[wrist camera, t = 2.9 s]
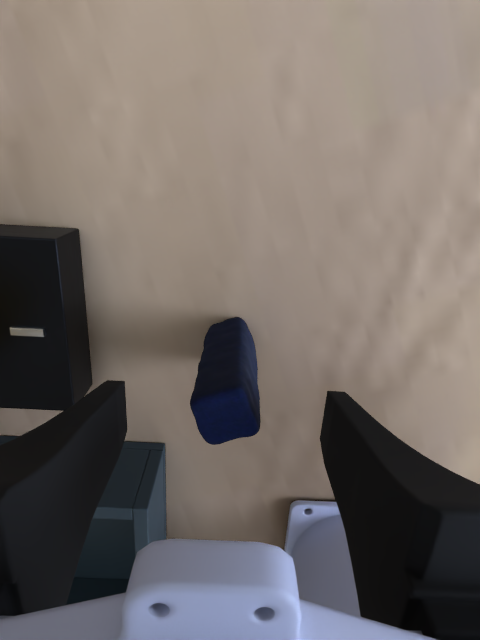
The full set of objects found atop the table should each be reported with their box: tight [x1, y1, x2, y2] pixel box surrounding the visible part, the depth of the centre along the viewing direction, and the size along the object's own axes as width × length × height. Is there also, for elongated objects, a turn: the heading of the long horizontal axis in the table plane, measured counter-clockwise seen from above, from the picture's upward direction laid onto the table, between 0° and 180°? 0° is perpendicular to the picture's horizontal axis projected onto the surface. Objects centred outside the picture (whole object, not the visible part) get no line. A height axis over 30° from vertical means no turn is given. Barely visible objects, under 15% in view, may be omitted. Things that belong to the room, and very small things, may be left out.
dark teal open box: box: [0, 436, 166, 605], centre depth 23 cm, size 13×11×5 cm
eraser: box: [190, 317, 260, 445], centre depth 17 cm, size 2×2×7 cm
